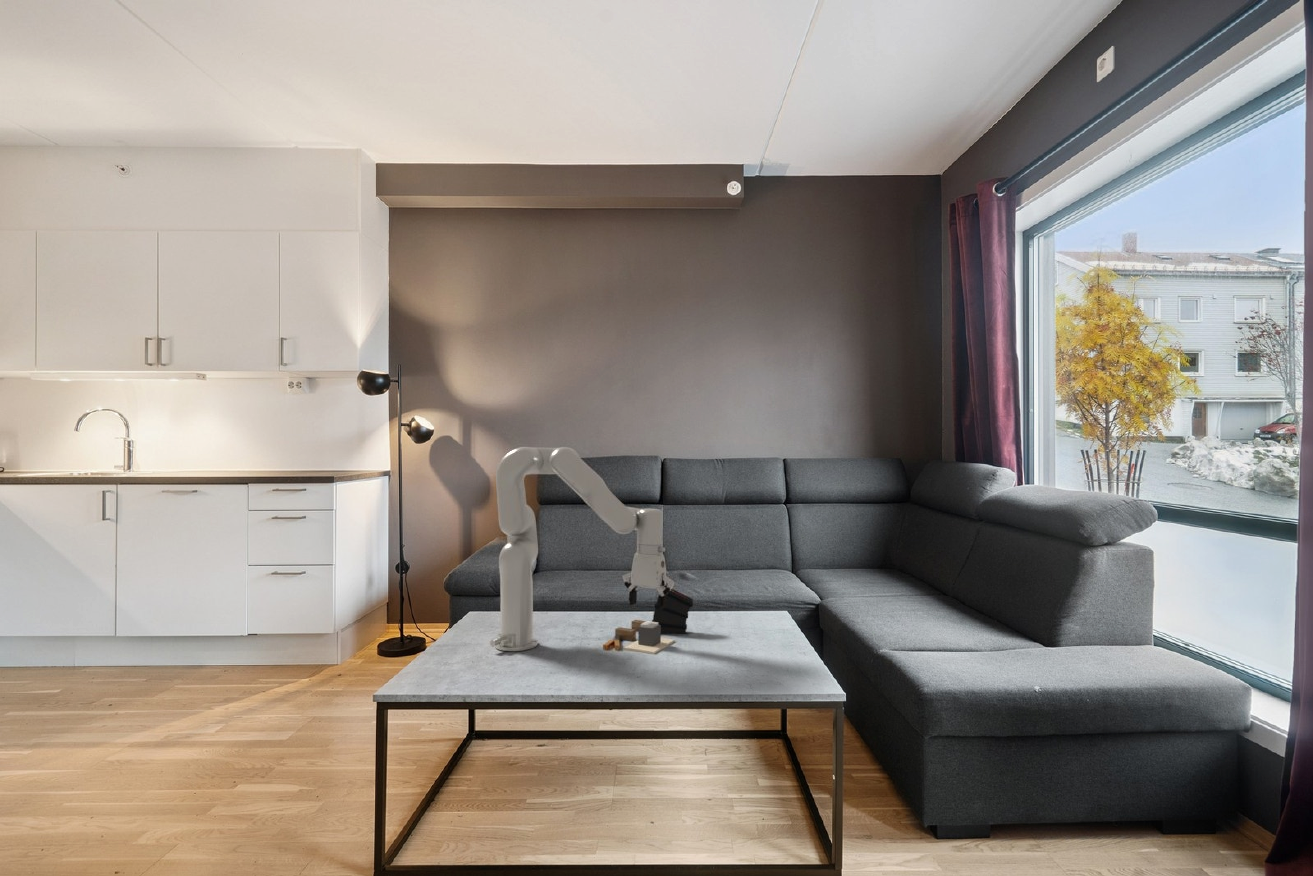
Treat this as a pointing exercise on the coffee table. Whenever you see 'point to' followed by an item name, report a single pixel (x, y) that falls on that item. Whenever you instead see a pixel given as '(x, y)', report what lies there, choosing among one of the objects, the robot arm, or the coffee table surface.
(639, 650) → the mat
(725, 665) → the coffee table surface
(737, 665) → the coffee table surface
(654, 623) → the grey box
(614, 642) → the cutter
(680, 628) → the black layered block
